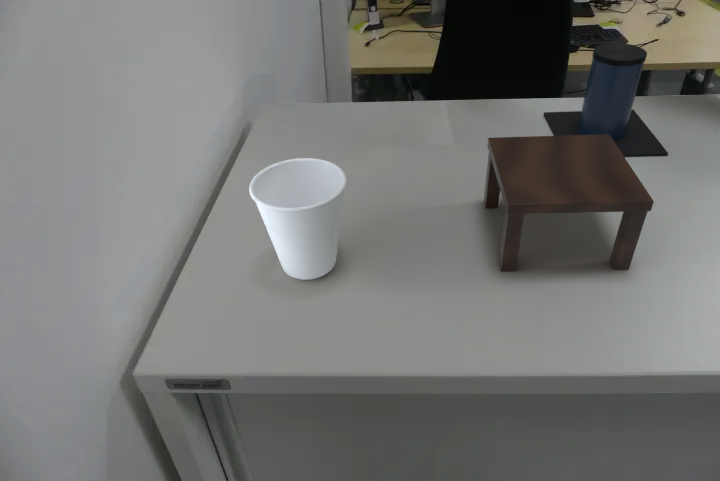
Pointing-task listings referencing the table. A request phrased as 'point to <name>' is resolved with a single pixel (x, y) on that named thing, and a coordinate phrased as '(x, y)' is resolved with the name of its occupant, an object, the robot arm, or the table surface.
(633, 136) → the mat
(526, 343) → the table surface
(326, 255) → the cup
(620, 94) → the blue lidded tin
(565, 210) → the small brown wooden table
